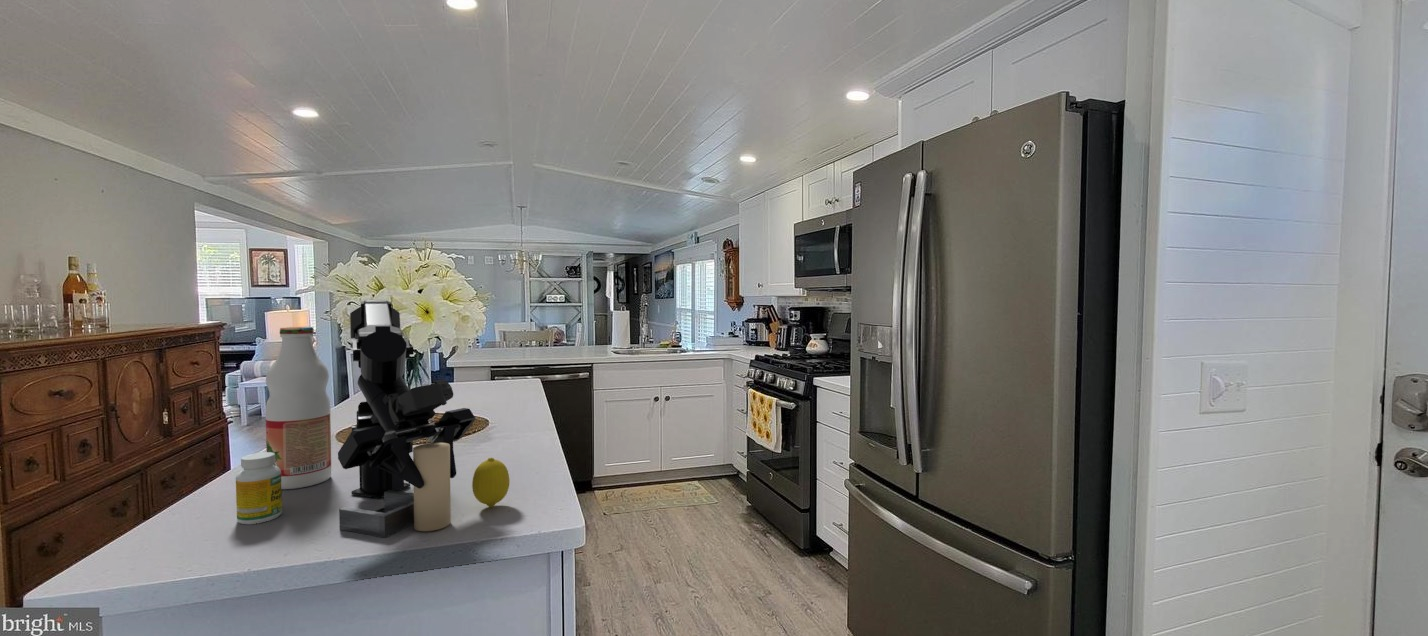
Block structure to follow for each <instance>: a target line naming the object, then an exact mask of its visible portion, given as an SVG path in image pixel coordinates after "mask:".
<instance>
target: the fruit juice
mask: <svg viewBox="0 0 1428 636" xmlns="http://www.w3.org/2000/svg"><path fill="white" fill-rule="evenodd" d="M314 333H315V332H314V327H313V326H286V327H285V326H284V327H280V328H279V335H280V336H279V337H280V338H281V346H280V350H279V352H278V355H277V358H276V359H275V360H274V362H273V364H272V365H271V366H270V367H269V368H268V370H267V371H266V374H265V383H266V384H265V385H266V387H267V390H268V392H269V393H268V394H269V397H268V399H267V402H266V404H265V414H264V415H265V416H264V417H265V437H266V438H265V439H266V442H265V443H266V444H265V445H266V446H265V447H266V452H272V453H275V463H274V464H273V465H274V466H277V467H279V468H280V470H281V490H293V489H295V490H296V489H301V488H306V487H311V486H315V485H318V484H321V483H324V482H325V481H328V480H329V479H330V478H331V475H332V437H331V436H332V431H331V429H332V428H331V424H332V423H331V402H330V397H329V396H328V394H327V386H328V382H329V370H328V368H327V366H326V365H325V364H324V362H323V361H322V360H321V359H320V358H319V356H318V355H317V352H316V350H315V347H314V344H313V337H314Z"/></svg>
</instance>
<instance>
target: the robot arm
mask: <svg viewBox="0 0 1428 636" xmlns="http://www.w3.org/2000/svg"><path fill="white" fill-rule="evenodd" d="M349 317H350V318H349V319H350V321H349V322H350V339H352V362H358V368H359V369H360V373H361V374H360V375H359V377H358V378H357V386H358V387H359V389H360V391H361V393H362V395H363V397H364V398H365V401H361V402H359V404H358V406H357V410H356V424H354V425H353V424H352V425H351V432H350V433H349V435H348V436H347V438H346V439H345V441H344V442H343V444H342V446H341V447H340V449H339V450H338V452H337V460H338V461H339V463H340V465H341V467H342V469H345V470H348V469H351V468H356V467H358V469H359V470H358V471H359V488H357V489H353V490H351V495H355V496H361V497H366V498H367V497H368V498H372V499H373V498H375V499H382V498H384V492H386V491H388V490H393V491H400V492H401V491H402V490H405V489H408V488H410V487H411V485H412V486H413V487H414V486H415V487H417V488H419V489H420V488H422V487H423V486H424V481H423V478H422V476H421V474H420V472H419V470H418V469H417V467H416V465H415V463H414V462H413V457H411V455H410V453H413V448H414V446H413V443H414V441H418V440H422V439H423V440H424V439H427V440H428V442H429V443H448V444H450V479H454V478H455V477H456V476H457V468H456V467H457V466H456V460H455V459H456V458H455V453H454V442H457V441H459V440H460V439H462V438H463V437H464V435H465V434H466V433H467V431H468V430H469V429H470V427H472V425H473V424H474V423H475V421H476V417H475V415H474V413H473V412H472V410H471V409H470V408H469V407H468V408H466V407H462V408H458V409H456V408H455V409H453V410H447V411H445V412H444V413H443V415H442V416H441V417H440V419H439V420H438V421H437V422H430V421H429V420H430V419H433V418H434V416H435V415H436V411H435V410H436V409H437V408H439V407H441V406H445V405H447V403H448V401H449V400H451V399H453V398H454V391H453V387H452V386H451V384H450V383H449V382H448V381H447V379H446V378H445V379H440V380H439V379H438V380H435V381H434V382H433V383H430V384H427V385H419V386H415V387H411V389H410V387H409V386H408V384H407V383H406V382H405V381H406V380H404V377H403V375H404V373H405V369H406V368H405V367H406V360H409V359H411V355H414V346H413V345H412V343H410V342H409V340H408V337H404V335H403V330H402V329H401V313H400V312H399V311H398V310H397V309H395V308H394V307H393V306H392V301H389V300H387V299H365V300H362V301H360V306H359V307H358V308H356V309H354V310H352V311H351V312H350V314H349Z"/></svg>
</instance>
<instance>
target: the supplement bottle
mask: <svg viewBox="0 0 1428 636" xmlns="http://www.w3.org/2000/svg"><path fill="white" fill-rule="evenodd" d="M274 463H275V453H272V452H267V451H266V452H265V451H264V452H263V451H262V452H255V453H251V454H246V455H244V456H242V457H241V459H240V467H241V468H242V470H240V471H239V472H237V474H236V476H235V493H236V494H235V499H236V501H235V502H236V522H238V523H239V524H241V525H256V523H257V524H261V523H266V521H267V522H270V521H272V520H274V519H276V518H278V517H279V516H280V515H281V514H282V512H283V505H282V504H283V501H282V499H283V497H282V494H283V493H282V489H281V470H280V468H279V467H277V466H274V465H273V464H274Z"/></svg>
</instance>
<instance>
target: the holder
mask: <svg viewBox="0 0 1428 636" xmlns="http://www.w3.org/2000/svg"><path fill="white" fill-rule="evenodd" d="M383 498H384V499H383V503H384V505H383V506H384V507H382V508H379V509H376V510H369V509H362V508H357V507H350V506H344V507H341V508H339V510H338V511H339V513H338V516H339V517H338V519H339V520H338V521H339V523H338V524H339V530H340V531H344V532H345V531H346V532H351V533H357V534H363V535H367V536H373V537H374V536H375V537H378V538H384V539H385V538H387V537H390V536H392V535H395V534H397V533H398V532H400V531H402V530H404V529H406V528H409V527H411V526H414V492H413V493H412V492H406V491H401V490H400V491H393V490H388V491H386V492H384V497H383Z"/></svg>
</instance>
